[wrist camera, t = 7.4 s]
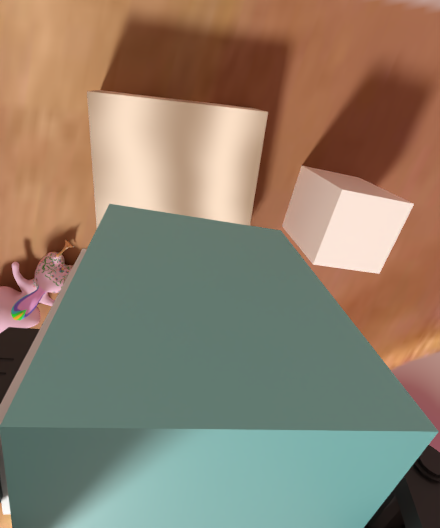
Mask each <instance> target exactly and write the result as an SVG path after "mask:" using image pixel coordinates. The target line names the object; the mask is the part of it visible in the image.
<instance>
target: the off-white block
mask: <svg viewBox="0 0 440 528" xmlns="http://www.w3.org/2000/svg"><path fill="white" fill-rule="evenodd" d="M413 205H414V204H413V203H411V202H409V201H407V200H405V199H403V198H401V197H399V196H397V195H395V194H393V193H390V192H388V191H386V190H384V189H382V188H380V187H378V186H376V185H374V184H372V183H370V182H368V181H365V180H363V179H361V178H359V177H354V176H350V175H345V174H340V173H335V172H331V171H326V170H321V169H316V168H312V167H307V166H301V169H300V172H299V176H298V179H297V182H296V185H295V188H294V191H293V194H292V197H291V200H290V203H289V207H288V210H287V213H286V216H285V219H284V222H283V225H282V227H283V228H284V229H285V230H286V232H287V233H288V234H289V235H290V237H291V238H292V239H293V240H294V241H295V243H296V244H297V245H298V246H299V248H300V249H301V250H302V251H303V253H304V254H305V255H306V256H307V258H308V259H309V260H310V261H311V262H312V264H314V265H321V266H328V267H335V268H342V269H350V270H357V271H364V272H371V273H378V274H379V273H380V271H381V269H382V267H383V265H384V263H385V261H386V259H387V257H388V255H389V253H390V251H391V249H392V247H393V245H394V243H395V241H396V239H397V237H398V235H399V233H400V231H401V229H402V227H403V225H404V223H405V221H406V219H407V217H408V215H409V213H410V211H411V209H412V207H413Z"/></svg>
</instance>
